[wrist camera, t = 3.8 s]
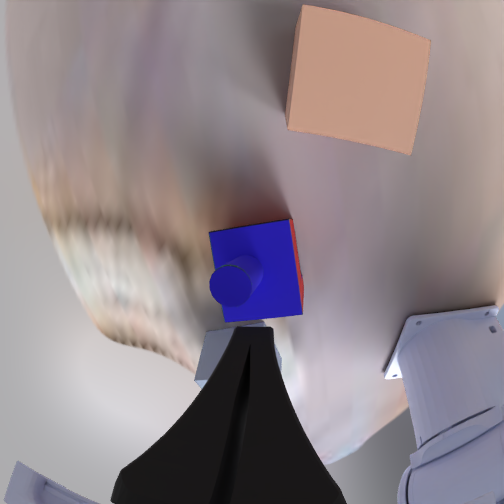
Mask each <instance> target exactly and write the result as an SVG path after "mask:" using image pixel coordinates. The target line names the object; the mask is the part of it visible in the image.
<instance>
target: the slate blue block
mask: <svg viewBox="0 0 504 504" xmlns="http://www.w3.org/2000/svg"><path fill="white" fill-rule="evenodd" d="M240 327H266V325H265V323H264V322H261V323H256V324H250V325H244V326H240ZM235 328H236V327H233V328H227V329H220V330H214V331H207V332H206V336H205V340H204V343H203V347H202V351H201V355H200V359H199V363H198V367H197V371H196V375H195V380H194V381H195V382H196V383H197V384H198V385H199V386H200V387H201V389H202V388H203V387H204V385H205V384H206V382H207V381H208V379H209V378H210V376H211V374H212V373H213V371H214V369H215V368H216V366H217V364H218V362H219V360H220V359H221V357H222V355H223V353H224V351H225V349H226V347H227V345H228V343H229V341H230V339H231V336H232V334H233V331H234V329H235ZM274 347H275V352H276V357H277V361H278V365H279V368H280V372H281V363H282V358H281V356H280V354H279V352H278V350H277V348H276V346H275V344H274Z"/></svg>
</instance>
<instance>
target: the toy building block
mask: <svg viewBox="0 0 504 504" xmlns="http://www.w3.org/2000/svg"><path fill="white" fill-rule="evenodd" d="M209 237H210V243H211V249H212V255H213V261H214V267H215V271H214V273H213V274H212V276H211V279H210V291H211V294H212V296H213V297H214V298H215V300H216V301H217V302H218V303H220V304H221V305H222V310H223V316H224V321H225V322H236V321H247V320H257V319H267V318H277V317H286V316H294V315H302V314H303V298H304V285H303V277H302V275H301V272H300V265H299V258H298V251H297V244H296V237H295V231H294V224H293V219H285V220H278V221H272V222H266V223H259V224H253V225H247V226H241V227H235V228H229V229H223V230H217V231H211V232H209Z"/></svg>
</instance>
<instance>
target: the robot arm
mask: <svg viewBox="0 0 504 504" xmlns="http://www.w3.org/2000/svg"><path fill="white" fill-rule="evenodd" d="M498 310H499V308H498V306H497V305H493V306H486V307H480V308H473V309H466V310H458V311H450V312H442V313H433V314H424V315H414V316H411V317H409V318H408V319H407V320H406V323H405V325H404V328H403V331H402V333H401V336H400V338H399V341H398V343H397V346H396V348H395V350H394V353H393V355H392V357H391V360H390V362H389V364H388V367H387V369H386V371H385V373H384V378H385V379H394V378H401V377H402V379H403V383H404V387H405V391H406V395H407V399H408V404H409V408H410V413H411V417H412V422H413V427H414V432H415V437H416V442H417V449H418V451H416V452H415V453H413V454H411V455H410V461H411V465H410V466H409V467H408V468H407V469H406V470H405V472H404V473H403V476H402V478H401V481H400V485H399V488H398V496H397V501H398V504H504V331H503V329H502V327H501V325H500V324H499V322H498V320H497V318H496V315H497V313H498ZM4 501H5V502H6V503H7V504H99V503H97V502H94V501H92V500H90V499H88V498H85V497H83V496H81V495H79V494H77V493H74V492H72V491H70V490H68V489H66V488H65V487H64V486H62V485H60V484H58V483H56V482H54V481H52V480H51V479H49V478H47V477H45V476H43V475H41V474H39V473H37V472H36V471H34V470H32V469H31V468H29V467H27V466H26V465H24V464H22V463H21V462H19V461H17V462H16V465H15V468H14V471H13V473H12V476H11V479H10V482H9V485H8V488H7V491H6V495H5V498H4ZM111 502H112V503H114V504H347V503H346V501H345V499H344V496H343V494H342V491H341V489H340V488H339V486H338V485H337V484H336V483H335V481H334V480H333V478H332V477H331V475H330V474H329V472H328V471H327V469H326V468H325V466H324V465H323V463H322V462H321V460H320V458H319V457H318V455H317V453H316V452H315V450H314V448H313V446H312V444H311V443H310V441H309V439H308V437H307V436H306V434H305V432H304V430H303V428H302V426H301V424H300V422H299V419H298V417H297V415H296V413H295V410H294V408H293V406H292V403H291V401H290V398H289V396H288V393H287V390H286V388H285V385H284V382H283V379H282V375H281V372H280V368H279V365H278V361H277V357H276V352H275V347H274V332H273V328H271V327H240V326H237V327H236V328H235V329H234V331H233V334H232V336H231V339H230V341H229V343H228V345H227V347H226V349H225V351H224V353H223V355H222V357H221V359H220V360H219V362H218V364H217V366H216V368H215V369H214V371H213V373H212V374H211V376H210V378H209V379H208V381H207V382H206V384H205V385H204V387H203V388H202V390H201V391H200V393H199V394H198V395H197V397H196V398H195V400H194V401H193V402H192V404H191V405H190V406H189V407H188V409H187V410H186V411H185V412H184V414H183V415H182V416H181V417H180V418H179V419H178V420H177V421H176V423H175V424H174V425H173V426H172V427H171V428H170V429H169V430H168V431H167V432H166V433H165V434H164V435H163V436H162V437H161V438H160V439H159V440H158V441H157V442H156V443H154V444H153V445H152V446H151V447H150V448H149V449H148V450H147V451H145V452H144V453H143V454H142V455H141V456H139V457H138V458H137V459H135V460H134V461H133V462H131V463H130V464H129V465H127V466H126V467H124V468H123V469H122V470H121V471H120V473H119V476H118V478H117V480H116V482H115V486H114V489H113V493H112V497H111Z"/></svg>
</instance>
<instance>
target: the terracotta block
mask: <svg viewBox="0 0 504 504" xmlns="http://www.w3.org/2000/svg"><path fill="white" fill-rule="evenodd" d="M430 45H431V40H428V39H426V38H423V37H421V36H418V35H416V34H413V33H411V32H408V31H405V30H403V29H400V28H397V27H394V26H391V25H388V24H385V23H382V22H379V21H375V20H372V19H368V18H365V17H361V16H357V15H353V14H349V13H345V12H341V11H336V10H332V9H327V8H321V7H316V6H310V5H304V4H303V5H302V8H301V12H300V15H299V18H298V21H297V24H296V28H295V36H294V45H293V54H292V62H291V71H290V79H289V87H288V96H287V104H286V112H285V117H286V123H287V129H288V130H291V131H298V132H304V133H311V134H317V135H322V136H328V137H333V138H339V139H344V140H349V141H353V142H358V143H363V144H367V145H372V146H376V147H380V148H384V149H388V150H392V151H396V152H400V153H403V154H407V155H411V153H412V149H413V144H414V140H415V136H416V131H417V127H418V122H419V117H420V112H421V107H422V101H423V96H424V90H425V84H426V77H427V70H428V63H429V55H430Z"/></svg>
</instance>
